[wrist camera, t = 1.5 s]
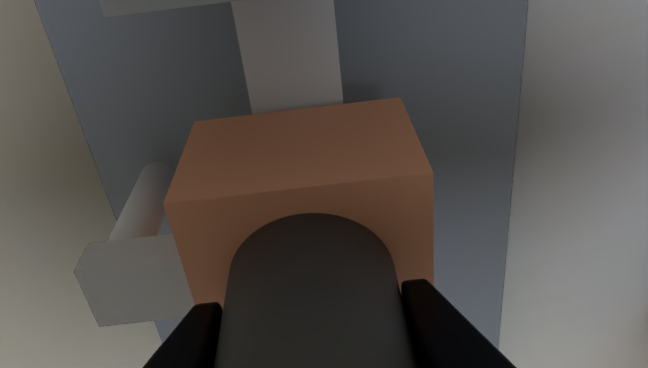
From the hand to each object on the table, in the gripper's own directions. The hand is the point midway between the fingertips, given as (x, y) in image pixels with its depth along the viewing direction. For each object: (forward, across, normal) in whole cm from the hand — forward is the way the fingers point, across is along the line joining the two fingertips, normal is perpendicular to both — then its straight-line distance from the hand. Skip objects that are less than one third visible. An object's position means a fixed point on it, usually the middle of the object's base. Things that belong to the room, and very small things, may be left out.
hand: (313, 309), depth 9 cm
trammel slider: (+5, +1, 0) cm, 5 cm away
